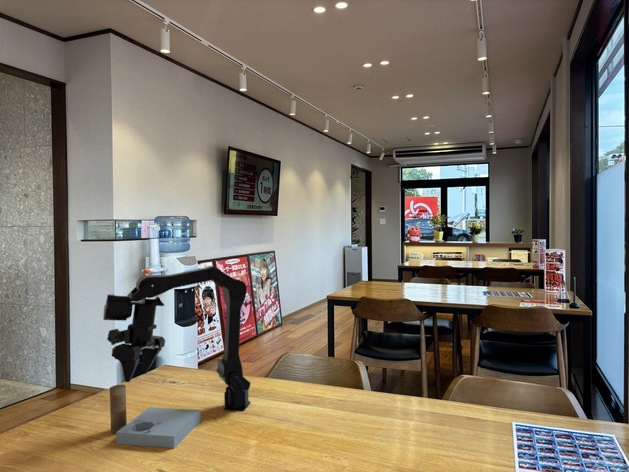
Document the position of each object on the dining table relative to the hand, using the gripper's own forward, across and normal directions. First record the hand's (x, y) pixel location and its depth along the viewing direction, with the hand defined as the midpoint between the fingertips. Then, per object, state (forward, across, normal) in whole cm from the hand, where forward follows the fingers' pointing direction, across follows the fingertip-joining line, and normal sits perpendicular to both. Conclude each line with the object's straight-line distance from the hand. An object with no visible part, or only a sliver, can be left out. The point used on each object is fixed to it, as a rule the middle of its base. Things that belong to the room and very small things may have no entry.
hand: (136, 377), depth 121 cm
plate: (+13, 0, +9) cm, 16 cm away
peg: (+15, 0, -3) cm, 15 cm away
